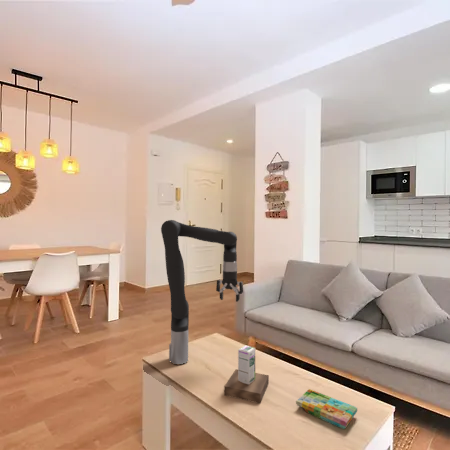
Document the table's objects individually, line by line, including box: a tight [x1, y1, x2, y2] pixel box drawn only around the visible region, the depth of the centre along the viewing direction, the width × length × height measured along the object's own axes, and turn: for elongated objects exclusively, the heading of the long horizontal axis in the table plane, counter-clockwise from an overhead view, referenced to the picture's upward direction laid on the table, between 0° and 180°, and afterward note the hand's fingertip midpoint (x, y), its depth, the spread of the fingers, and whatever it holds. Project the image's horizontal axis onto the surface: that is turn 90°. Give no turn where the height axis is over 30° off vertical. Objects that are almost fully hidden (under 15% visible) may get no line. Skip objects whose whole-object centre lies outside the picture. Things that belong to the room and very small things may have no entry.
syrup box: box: [237, 344, 256, 385], centre depth 138 cm, size 6×6×14 cm
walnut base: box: [223, 368, 270, 404], centre depth 138 cm, size 16×16×4 cm
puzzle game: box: [295, 388, 358, 430], centre depth 122 cm, size 12×5×20 cm
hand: (229, 300), depth 162 cm, fingers open, 8 cm apart
